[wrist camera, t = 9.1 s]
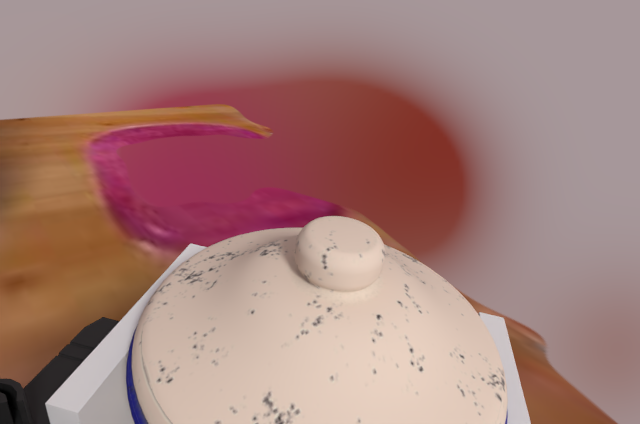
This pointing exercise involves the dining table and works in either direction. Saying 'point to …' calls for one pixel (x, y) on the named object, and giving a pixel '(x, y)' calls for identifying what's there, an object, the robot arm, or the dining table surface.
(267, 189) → the dining table surface
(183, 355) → the teacup with lid
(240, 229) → the dining table surface
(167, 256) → the dining table surface
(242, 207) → the dining table surface
